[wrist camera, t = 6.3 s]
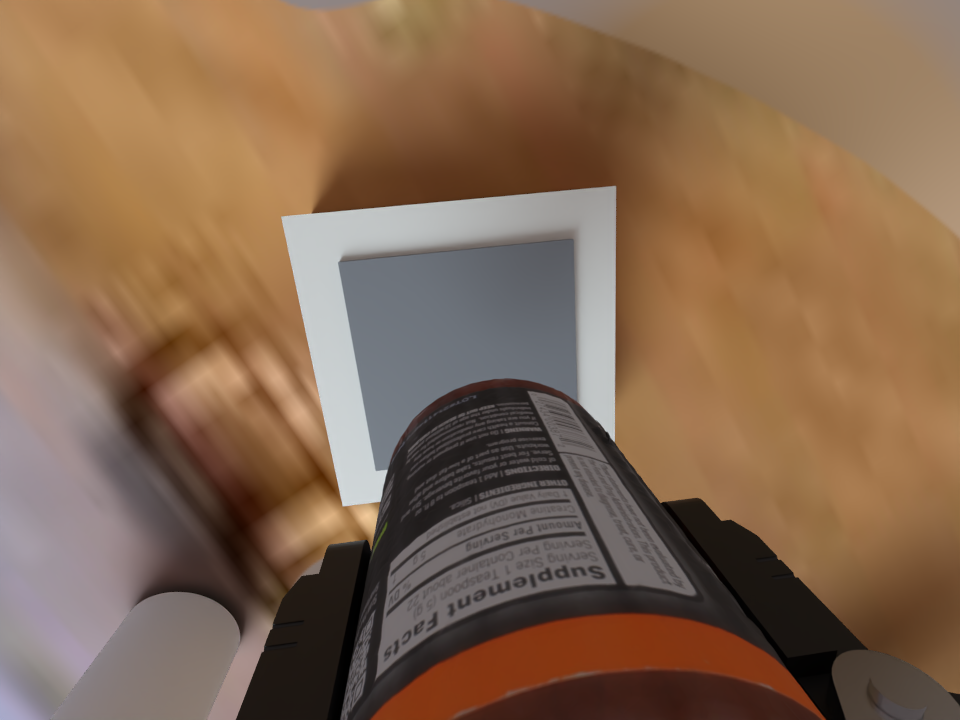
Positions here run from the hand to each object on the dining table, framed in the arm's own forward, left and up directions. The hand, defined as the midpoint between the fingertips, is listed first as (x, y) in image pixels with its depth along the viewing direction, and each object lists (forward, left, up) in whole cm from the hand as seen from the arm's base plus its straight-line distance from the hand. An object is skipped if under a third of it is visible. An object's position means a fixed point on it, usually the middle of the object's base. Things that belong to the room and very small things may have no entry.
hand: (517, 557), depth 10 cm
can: (-18, +20, -18) cm, 33 cm away
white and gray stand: (0, 0, -18) cm, 18 cm away
